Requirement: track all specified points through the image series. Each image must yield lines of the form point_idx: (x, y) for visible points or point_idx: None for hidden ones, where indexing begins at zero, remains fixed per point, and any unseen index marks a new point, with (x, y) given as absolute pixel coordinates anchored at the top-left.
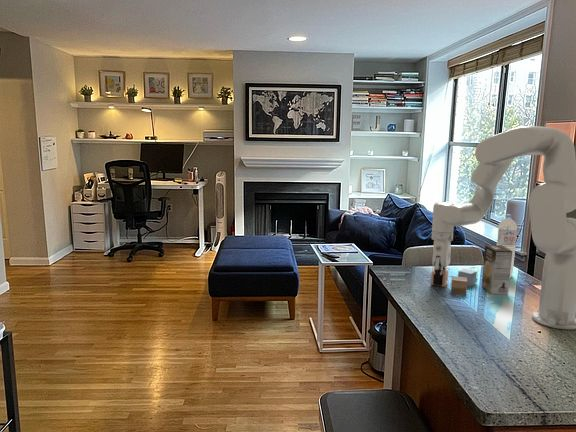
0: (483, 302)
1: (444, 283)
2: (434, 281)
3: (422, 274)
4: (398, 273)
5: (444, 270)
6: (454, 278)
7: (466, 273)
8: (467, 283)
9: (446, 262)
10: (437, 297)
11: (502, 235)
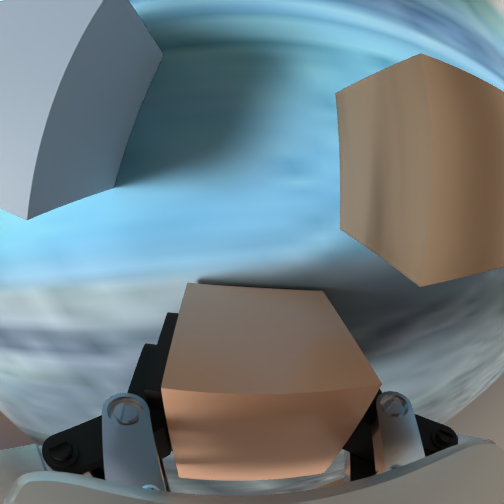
0: (488, 47)
1: (332, 310)
2: None
3: (81, 421)
4: None
5: (201, 423)
6: (495, 242)
7: (75, 62)
8: (143, 76)
9: (499, 501)
10: (492, 287)
11: None
